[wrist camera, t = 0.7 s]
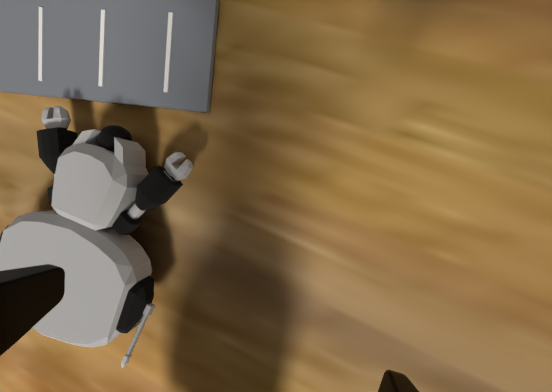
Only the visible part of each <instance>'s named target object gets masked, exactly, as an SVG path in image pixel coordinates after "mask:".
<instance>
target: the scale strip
mask: <svg viewBox="0 0 552 392" xmlns="http://www.w3.org/2000/svg"><path fill="white" fill-rule="evenodd" d="M218 10H219V2H218V0H0V92H7V93H17V94H27V95H37V96H46V97H56V98H66V99H76V100H86V101H96V102H106V103H116V104H126V105H136V106H145V107H155V108H165V109H175V110H185V111H195V112H205V113H210V102H211V91H212V79H213V68H214V56H215V45H216V33H217V22H218Z"/></svg>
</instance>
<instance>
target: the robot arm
mask: <svg viewBox="0 0 552 392" xmlns="http://www.w3.org/2000/svg"><path fill="white" fill-rule="evenodd" d="M64 293H65V271H64V269H63V268H61V267H58V266H55V265H51V264H45V265H38V266H31V267H24V268H17V269H10V270H3V271H0V356H1V355H2V354H3V353H4V352H5V351H7V350H8V349H9V348H10V347H11V346H12V345H13V344H15V343H16V342H17V341H18V340H19V339H20V338H21V337H22V336H23V335H25V334H26V333H27V332H28V331H29V330H30V329H31V328H32V327H33V326H34V325H35V324H37V323H38V322H39V321H40V320H41V319H42V318H43V317H44V316H45V315H46V314H47V313H49V312H50V311H51V310H52V309H53V308H54V307H55V306H56V305H57V304H58V303H59V302H60V301H61V300H62V298H63V296H64ZM378 392H419V391H418V390H417V388H416V387H415V386H414V385H413V384H412V382H411V381H410V380H409V379H408V378H407V377H406V376H405V375H404V374H402V373H399V372H395V371H392V370H387V371H386V372H385V373H384V375H383V378H382V381H381V384H380V387H379V390H378Z"/></svg>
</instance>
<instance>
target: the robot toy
mask: <svg viewBox="0 0 552 392" xmlns="http://www.w3.org/2000/svg"><path fill="white" fill-rule="evenodd" d="M41 121H42V122H43V124H44V125H45V127H46V128H47V129H44V130H39V131H37V139H38V148H39V157H40V158H41V159H42V161H43V162H44V163H45V164H46V166H47V167H48V168H49V169H50V170H51V171H52V172H53V174H54V184H53V186H52V187H50V188H48V195H49V204H52V207H53V209H54V210H51V211H41V212H31V213H28V214H24V215H21V216H18V217H17V218H16V219H15V220H14V221H13V222H12V223H11V224H10V225H8V226H7V227H6V228H5V229H4V231H3V232H2V233H1V236H0V271H3V270H10V269H17V268H24V267H31V266H38V265H45V264H51V265H55V266H58V267H61V268H63V269H64V271H65V293H64V296H63V298H62V300H61V301H60V302H59V303H58V304H57V305H56V306H55V307H54V308H53V309H52V310H51V311H50V312H49V313H47V314H46V315H45V316H44V317H43V318H42V319H41V320H40V321H39V322H38V323H37V324H35V325H34V326H33V327H32V328H33V329H34V330H36V331H37V332H39V333H40V334H42V335H44V336H47V337H50V338H53V339H56V340H60V341H63V342H66V343H69V344H73V345H78V346H84V347H97V346H102V345H107V344H108V343H110V342H111V341H112V340H114V339H115V338H116V337H117V336H119V335H120V334H121V333H128V332H129V331H130V330H132V329H133V328H134V327H135V326H137V325H138V324H139V323H140V322H141V323H140V325H139V327H138V329H137V331H136V334H135V336H134V338H133V340H132V342H131V345H130V347H129V349H128V351H127V353H126V355H124V358H123V360H122V362H121V367H122V368H123V367H124V366H125V365H126V364H127V363H128V362H129V359H130V357H131V353H132V351H133V349H134V346H135V344H136V342H137V340H138V338H139V335H140V333H141V331H142V329H143V327H144V324H145V322H146V320H147V318H148V316H149V315H151V314H152V312H153V309H154V307H155V305H154V304H151V303H152V300H153V297H154V279H153V278H152V277H151V273H152V267H151V262H150V259H149V257H148V255H147V254H146V252H145V251H144V249H143V248H142V246H141V245H140V244H139V243H138V242H137V241H136V240H135V239H133V238H132V237H131V236H130V234H131V233H132V232H134V231H135V230H136V228H137V227H138V226H139V225H140V224H141V223H142V220H141V218H140V216H141V215H142V214H143V213H144V212H145V211H146V210H149V209H152V208H155V207H157V206H160V205H162V204H164V203H166V202H167V201H168V200H169V199H170V198H171V197H172V196H173V194H174V193H175V192H176V191H177V190H178V189H179V188H180V187H181V186H182V185H183V184H182V183H181V181H180V180H182V179H185V178H187V177H188V176H189V174H190V172H191V171H192V169H193V165H192V162H191V161H190V160H188V159H186V160H185V161H184V163H183V164H182V165H181V166H179V164H180V163H181V161H182V160H183V159H184V158H185V157H186V156H185V155H184V154H183V153H182V152H174V153H173V154H171V155H170V156H168V157H167V159H166V162H165V166H164V167H162V166H157V167H154V168H153V169H152V170H151V172H150V173H149V174H148V172H147V169H146V153H145V150H144V149H143V148H142V147H141V146H140V145H139V143H138V142H133V141H132V137H131V135H130V133H129V132H128V131H127V130H126V129H124V128H122V127H121V126H115V125H111V126H108V127H105V128H104V129H103V130H102V131H99V130H95V129H93V130H87V131H82V132H81V134H80V135H79V136H78V138H77V133H75V132H72V131H69V130H67V128H68V126H69V124H70V121H71V119H70V116H69V113H68V111H67V110H66V109H64V108H63V107H60V106H54V108H52V107H47V108H46V109H44V110H43V112H42V119H41Z"/></svg>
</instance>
